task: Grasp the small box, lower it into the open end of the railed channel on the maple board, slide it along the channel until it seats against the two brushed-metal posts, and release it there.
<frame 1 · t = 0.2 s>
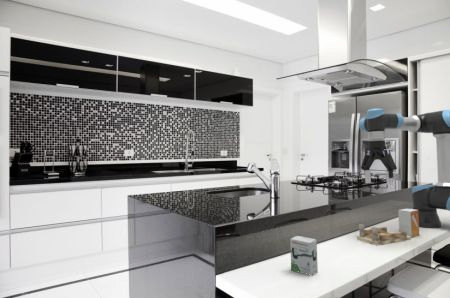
hand: (378, 184, 150), 27 cm above the table, fingers open, 13 cm apart
ink box: (304, 271, 113), on the table
board: (383, 239, 151), on the table
small box: (409, 235, 158), on the table
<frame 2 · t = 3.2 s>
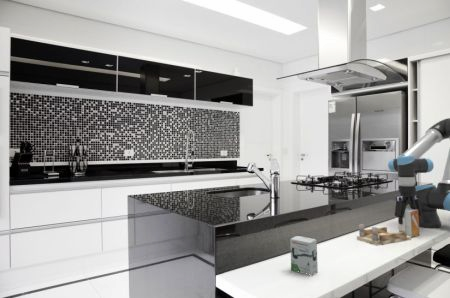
hand: (409, 229, 158), 3 cm above the table, fingers closed on small box, 9 cm apart
small box: (409, 235, 158), on the table, touching gripper
everything else where it was.
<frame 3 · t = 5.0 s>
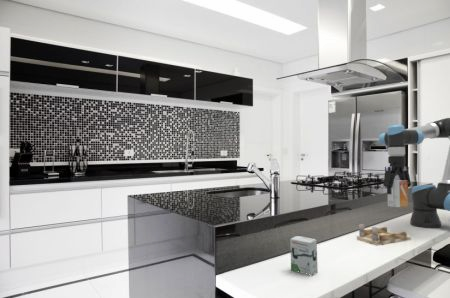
hand: (397, 200, 156), 18 cm above the table, fingers closed on small box, 9 cm apart
small box: (397, 206, 156), point 15 cm above the table, touching gripper
everything else where it was.
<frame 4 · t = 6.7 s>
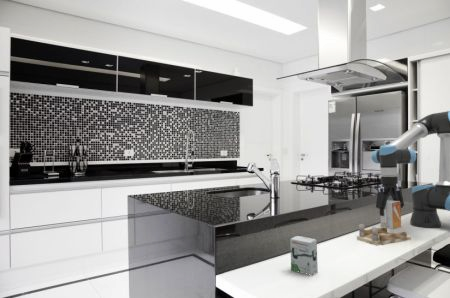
hand: (390, 221, 154), 8 cm above the table, fingers closed on small box, 9 cm apart
small box: (391, 227, 154), point 5 cm above the table, touching gripper
everything else where it was.
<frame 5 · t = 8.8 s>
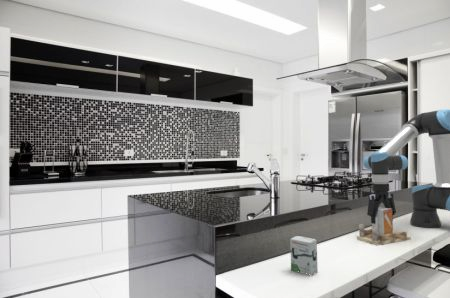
hand: (382, 229, 151), 5 cm above the table, fingers closed on small box, 9 cm apart
small box: (382, 235, 151), point 2 cm above the table, touching gripper
everything else where it was.
when the fingers open (5 cm above the table, at t = 10.4 s): small box stays where it is, resting on board.
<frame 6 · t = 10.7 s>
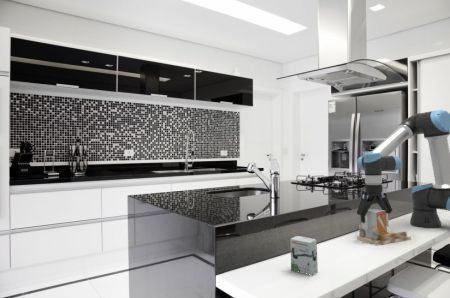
hand: (375, 227, 150), 6 cm above the table, fingers open, 13 cm apart
small box: (376, 237, 150), point 1 cm above the table, touching board
everything else where it was.
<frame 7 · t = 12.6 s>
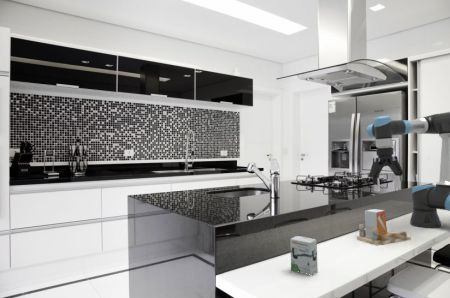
hand: (387, 190, 154), 24 cm above the table, fingers open, 13 cm apart
nothing on the table moved.
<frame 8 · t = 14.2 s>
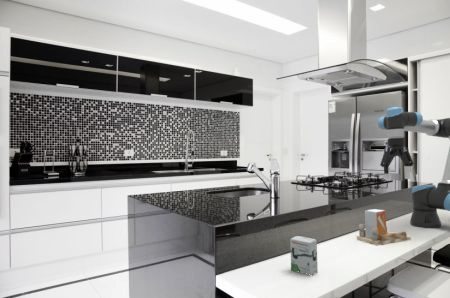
hand: (397, 179, 156), 29 cm above the table, fingers open, 13 cm apart
nothing on the table moved.
at the end: small box 0.4 cm from the target spot, point 1.4 cm above the table; small box tilted 0°; the gripper is holding nothing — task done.
